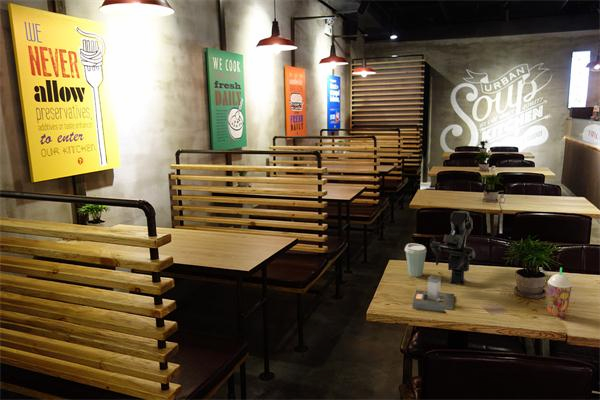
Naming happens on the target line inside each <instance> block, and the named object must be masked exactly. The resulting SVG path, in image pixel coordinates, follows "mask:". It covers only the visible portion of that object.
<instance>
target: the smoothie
mask: <svg viewBox="0 0 600 400" xmlns="http://www.w3.org/2000/svg"><path fill="white" fill-rule="evenodd" d="M562 272H563V267H560V268H559V273H554V274H553V275H552V276H550V278H549V279H548V280H547V304H546V305H547V308H546V309H547V310H546V311H547V312H548V313H549V314H550V315H554V316H556V317H557V318H559V319H563V318H565V317H566V316H567V315H568V310H569V304H570V297H571V292H572V287H573V284H572V282H571V280H570V278H569V277H568V276H566V275H565V274H563V273H562Z"/></svg>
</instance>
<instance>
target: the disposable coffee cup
mask: <svg viewBox="0 0 600 400" xmlns="http://www.w3.org/2000/svg"><path fill="white" fill-rule="evenodd" d="M404 252H405V257H406V263H407V271H408V275H409V276H411V277H414V278H418V277H421V276H422V275H423V272H424V266H425V261H426V256H427V247H426V246H424V245H423V244H419V243H415V242H414V243H412V242H411V243H407V244H406V245H405V247H404Z"/></svg>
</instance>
